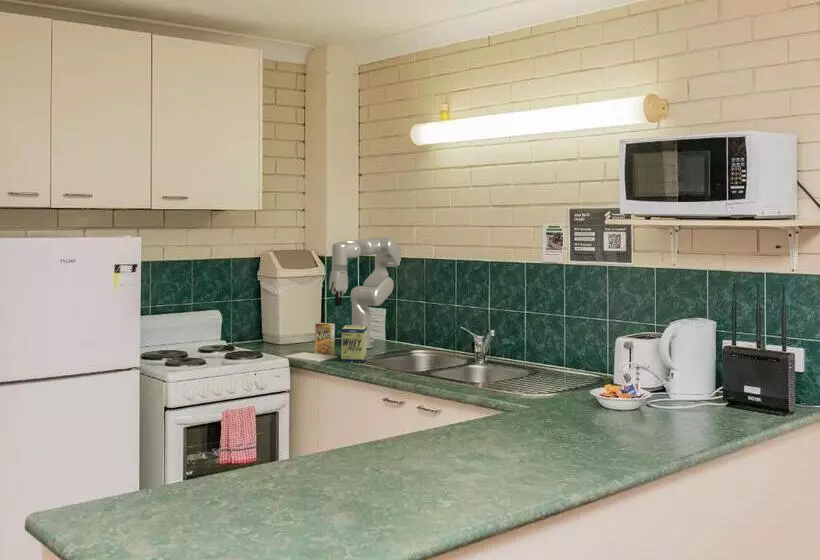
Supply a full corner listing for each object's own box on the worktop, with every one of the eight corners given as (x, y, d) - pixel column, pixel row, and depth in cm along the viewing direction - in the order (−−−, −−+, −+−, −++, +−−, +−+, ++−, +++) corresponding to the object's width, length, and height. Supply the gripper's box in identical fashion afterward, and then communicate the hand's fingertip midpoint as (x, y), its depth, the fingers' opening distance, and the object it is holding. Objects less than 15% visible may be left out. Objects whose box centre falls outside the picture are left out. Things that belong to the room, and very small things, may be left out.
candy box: (314, 354, 437) (314, 323, 436) (318, 353, 441) (318, 322, 440) (330, 356, 434) (331, 324, 433) (334, 355, 438) (335, 323, 437)
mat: (304, 353, 440) (304, 352, 440) (337, 357, 430) (337, 356, 430) (283, 357, 426) (283, 356, 426) (317, 361, 416) (317, 360, 416)
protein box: (340, 362, 418) (341, 328, 417) (344, 356, 433) (345, 324, 432) (363, 362, 417) (364, 329, 416) (366, 357, 433) (367, 325, 432)
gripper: (342, 267, 452) (341, 304, 453) (324, 268, 439) (323, 305, 441) (354, 268, 448) (353, 305, 450) (336, 269, 436) (335, 307, 437)
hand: (338, 305), depth 445 cm, fingers closed
